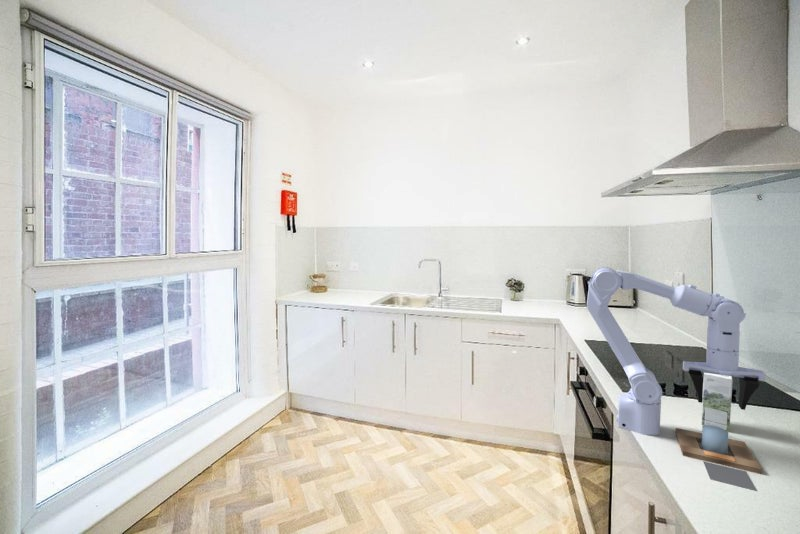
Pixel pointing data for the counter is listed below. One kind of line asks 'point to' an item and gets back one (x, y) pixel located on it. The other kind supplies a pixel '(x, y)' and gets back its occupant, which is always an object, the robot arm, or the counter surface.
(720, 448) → the peg
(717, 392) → the syrup box
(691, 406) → the counter surface
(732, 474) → the mat
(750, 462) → the socket plate
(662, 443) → the counter surface
